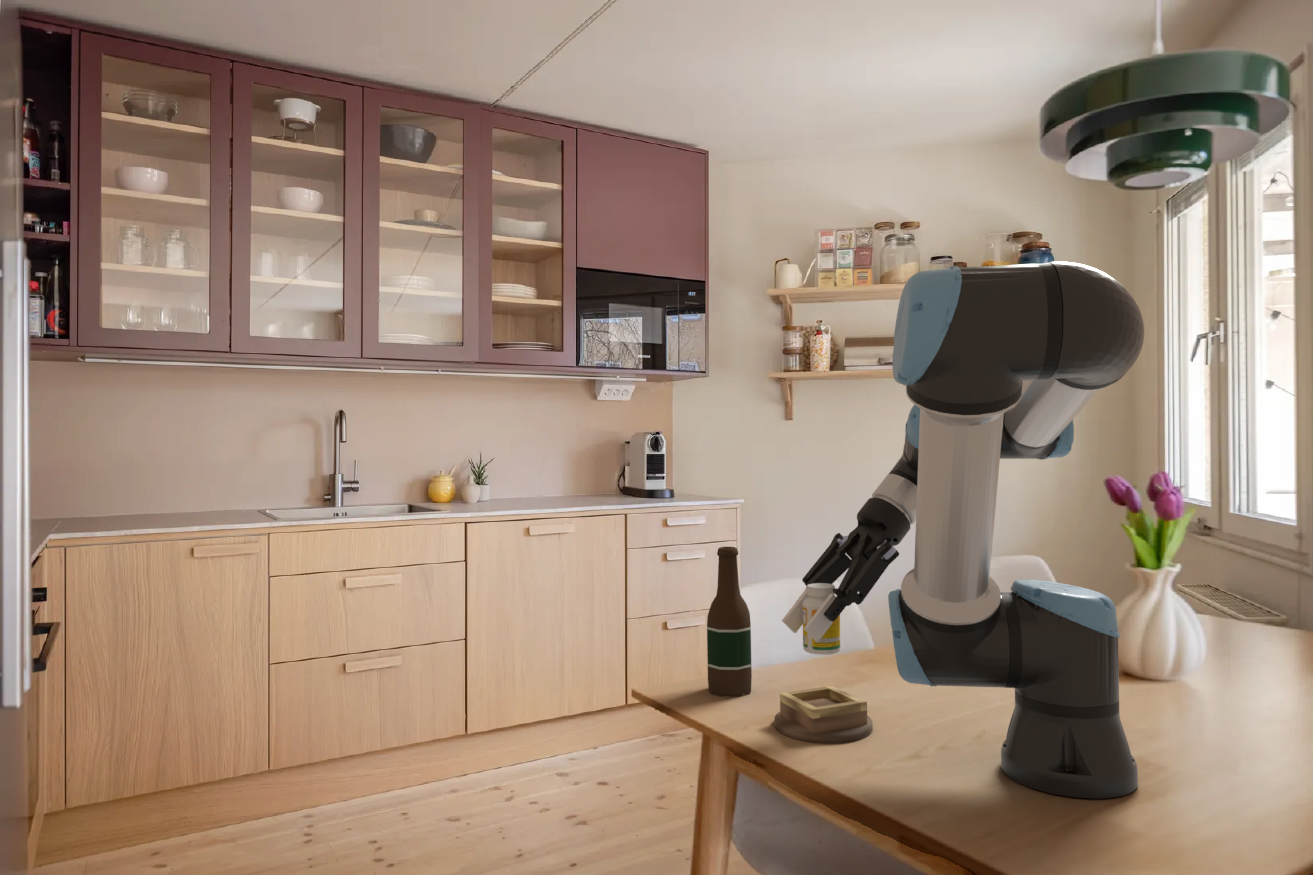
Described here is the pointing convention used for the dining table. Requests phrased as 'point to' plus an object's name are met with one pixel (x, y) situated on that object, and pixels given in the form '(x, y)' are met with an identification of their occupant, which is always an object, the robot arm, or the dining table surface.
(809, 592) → the supplement bottle
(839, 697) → the square wooden tray
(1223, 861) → the dining table surface
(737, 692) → the beer bottle
